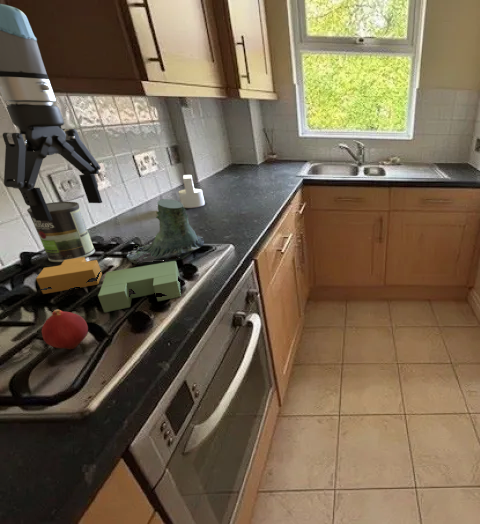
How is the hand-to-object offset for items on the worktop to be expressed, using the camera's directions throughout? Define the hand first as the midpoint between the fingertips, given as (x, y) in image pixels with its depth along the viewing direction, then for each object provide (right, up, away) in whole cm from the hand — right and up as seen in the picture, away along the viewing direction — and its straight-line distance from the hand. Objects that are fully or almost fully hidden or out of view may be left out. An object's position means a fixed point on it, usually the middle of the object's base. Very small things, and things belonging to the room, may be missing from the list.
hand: (72, 210), depth 73 cm
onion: (+13, -27, -14) cm, 33 cm away
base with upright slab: (-11, +13, +69) cm, 72 cm away
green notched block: (+14, -18, +3) cm, 23 cm away
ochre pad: (-6, -16, +7) cm, 18 cm away
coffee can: (-19, -9, +21) cm, 30 cm away
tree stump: (+7, -9, +24) cm, 26 cm away
